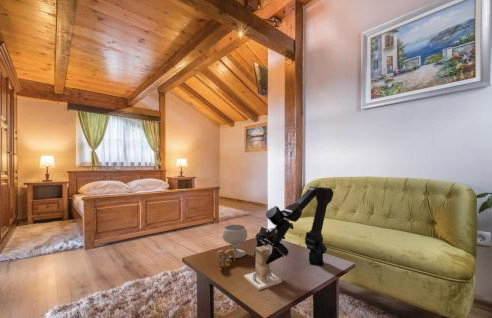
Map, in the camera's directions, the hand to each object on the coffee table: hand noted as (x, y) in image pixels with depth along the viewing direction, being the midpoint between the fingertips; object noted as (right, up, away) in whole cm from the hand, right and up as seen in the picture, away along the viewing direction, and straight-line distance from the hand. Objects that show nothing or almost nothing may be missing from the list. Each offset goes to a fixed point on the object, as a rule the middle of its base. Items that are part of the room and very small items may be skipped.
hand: (260, 260), depth 103 cm
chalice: (-12, -9, +29) cm, 33 cm away
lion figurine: (-16, -9, +16) cm, 24 cm away
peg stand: (+1, -9, +1) cm, 9 cm away
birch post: (+1, -8, +1) cm, 8 cm away
